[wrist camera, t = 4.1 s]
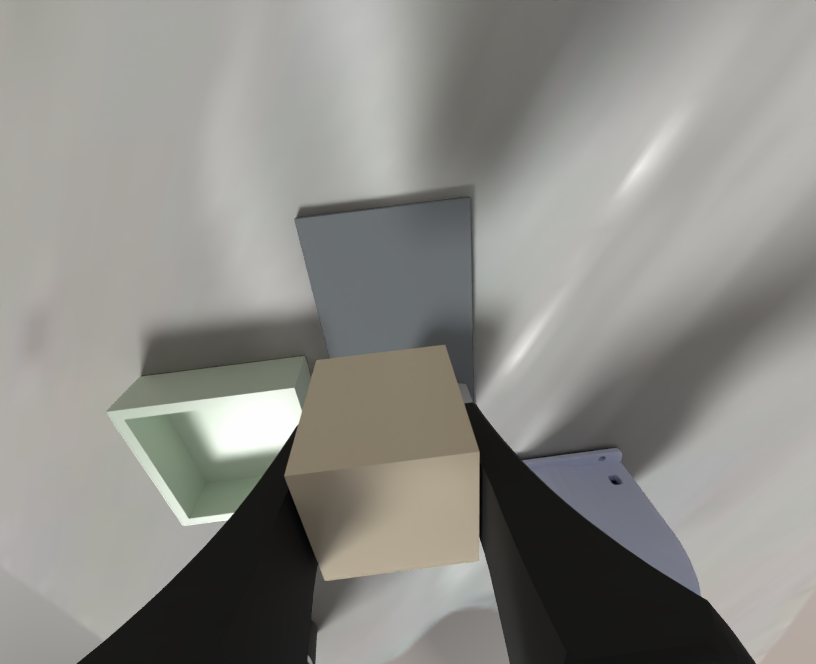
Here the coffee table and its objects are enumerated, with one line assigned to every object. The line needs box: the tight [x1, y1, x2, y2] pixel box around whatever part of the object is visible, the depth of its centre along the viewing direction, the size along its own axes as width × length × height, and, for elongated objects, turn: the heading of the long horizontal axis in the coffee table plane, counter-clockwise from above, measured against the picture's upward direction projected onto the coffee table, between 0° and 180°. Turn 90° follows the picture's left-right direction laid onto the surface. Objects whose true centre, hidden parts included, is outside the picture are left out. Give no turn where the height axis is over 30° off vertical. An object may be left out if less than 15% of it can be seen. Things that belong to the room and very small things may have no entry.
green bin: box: [106, 356, 311, 526], centre depth 21 cm, size 9×9×3 cm
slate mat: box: [294, 197, 474, 403], centre depth 20 cm, size 8×14×1 cm, turn 6°
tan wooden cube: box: [284, 345, 480, 581], centre depth 11 cm, size 4×4×4 cm
